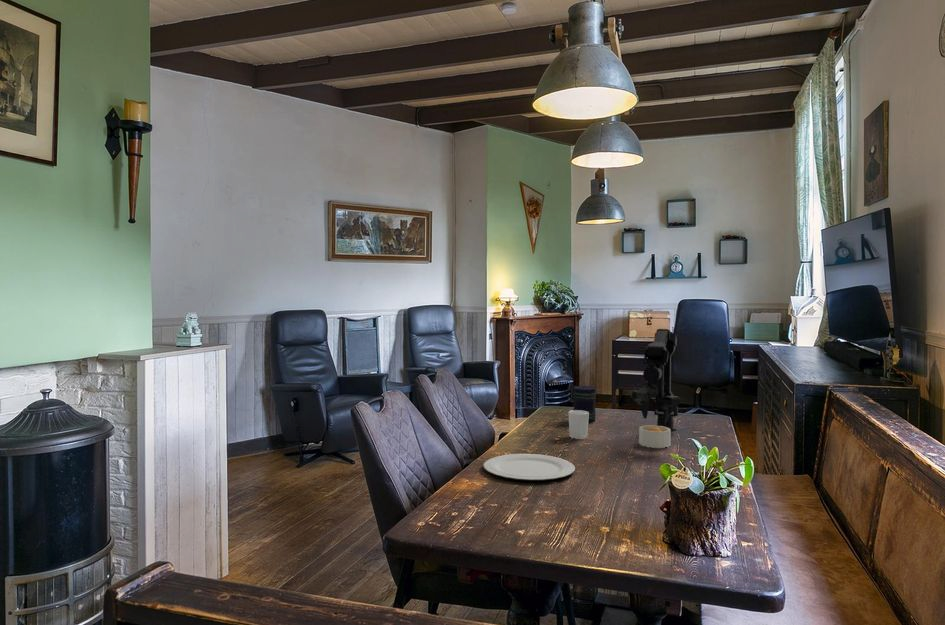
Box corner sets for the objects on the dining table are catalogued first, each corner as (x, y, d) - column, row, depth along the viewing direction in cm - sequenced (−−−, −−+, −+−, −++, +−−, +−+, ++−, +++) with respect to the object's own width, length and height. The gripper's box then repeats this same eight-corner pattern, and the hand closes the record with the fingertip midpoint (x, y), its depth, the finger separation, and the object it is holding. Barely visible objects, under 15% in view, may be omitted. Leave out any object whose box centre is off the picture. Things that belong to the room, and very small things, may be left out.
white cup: (587, 435, 249) (588, 410, 248) (589, 440, 241) (589, 414, 240) (567, 434, 249) (568, 409, 249) (568, 439, 241) (569, 413, 241)
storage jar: (597, 423, 271) (597, 389, 270) (574, 423, 271) (575, 389, 270) (593, 419, 281) (593, 385, 280) (571, 418, 281) (571, 385, 280)
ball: (653, 440, 238) (653, 424, 238) (666, 443, 234) (666, 427, 233) (642, 442, 235) (642, 426, 235) (655, 445, 230) (655, 429, 230)
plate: (582, 463, 208) (582, 458, 208) (565, 489, 181) (565, 483, 181) (498, 455, 218) (498, 450, 218) (470, 479, 190) (470, 473, 190)
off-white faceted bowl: (652, 439, 242) (652, 424, 242) (676, 445, 233) (676, 429, 233) (633, 443, 236) (633, 427, 236) (656, 449, 227) (657, 433, 226)
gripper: (621, 377, 237) (621, 418, 237) (662, 384, 221) (661, 427, 222) (641, 375, 243) (640, 415, 243) (681, 381, 228) (681, 424, 228)
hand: (655, 420), depth 234 cm, fingers open, 9 cm apart
